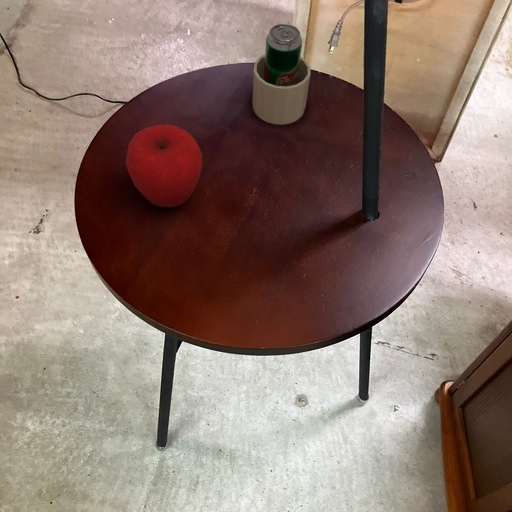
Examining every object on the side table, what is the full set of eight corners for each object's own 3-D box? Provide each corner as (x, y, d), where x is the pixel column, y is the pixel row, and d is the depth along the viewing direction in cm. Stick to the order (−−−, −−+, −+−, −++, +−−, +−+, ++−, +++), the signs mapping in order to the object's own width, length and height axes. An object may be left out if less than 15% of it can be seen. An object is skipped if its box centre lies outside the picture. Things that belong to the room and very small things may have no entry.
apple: (214, 211, 74) (212, 155, 65) (145, 231, 72) (132, 176, 63) (191, 159, 79) (186, 101, 70) (126, 176, 77) (112, 118, 68)
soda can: (274, 117, 83) (280, 49, 73) (255, 97, 86) (259, 29, 75) (301, 104, 85) (310, 37, 75) (282, 86, 87) (288, 17, 77)
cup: (305, 90, 88) (310, 52, 82) (304, 126, 84) (310, 89, 78) (254, 86, 88) (255, 49, 82) (251, 122, 84) (252, 86, 78)
